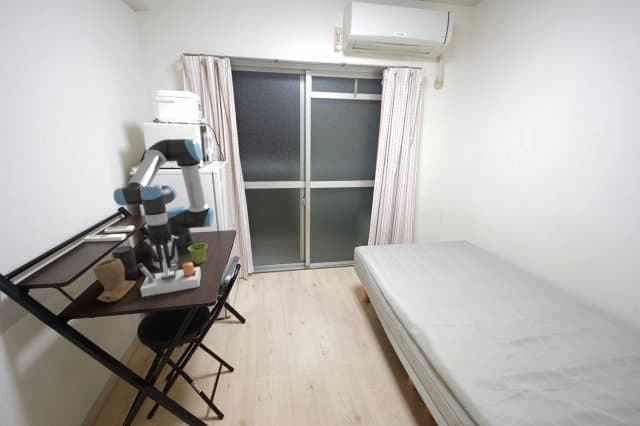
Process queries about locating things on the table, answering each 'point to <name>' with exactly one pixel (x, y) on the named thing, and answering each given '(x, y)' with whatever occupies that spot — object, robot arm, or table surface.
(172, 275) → the plate
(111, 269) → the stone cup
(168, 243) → the light bulb box
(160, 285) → the console
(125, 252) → the camera lens
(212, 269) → the table surface
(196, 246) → the plant pot
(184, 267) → the orange button
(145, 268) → the toggle lever
